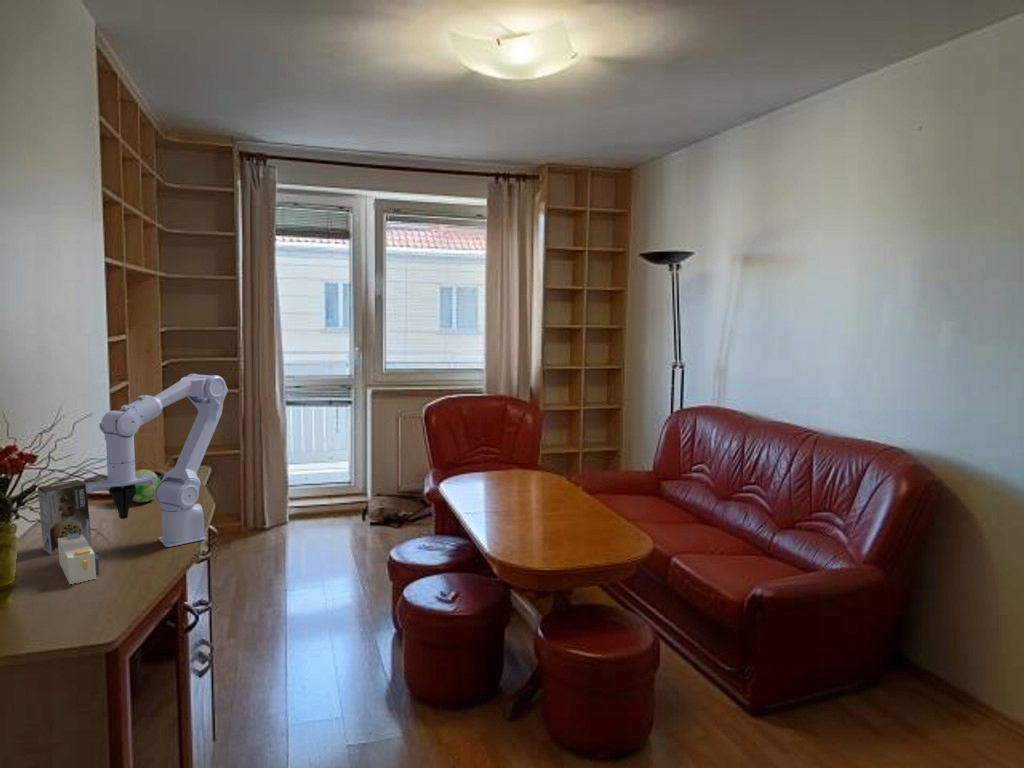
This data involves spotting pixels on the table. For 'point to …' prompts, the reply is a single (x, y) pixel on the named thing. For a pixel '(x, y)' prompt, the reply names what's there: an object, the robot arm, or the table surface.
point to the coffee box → (63, 513)
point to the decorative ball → (145, 488)
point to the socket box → (76, 558)
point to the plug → (96, 564)
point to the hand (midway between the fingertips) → (123, 517)
